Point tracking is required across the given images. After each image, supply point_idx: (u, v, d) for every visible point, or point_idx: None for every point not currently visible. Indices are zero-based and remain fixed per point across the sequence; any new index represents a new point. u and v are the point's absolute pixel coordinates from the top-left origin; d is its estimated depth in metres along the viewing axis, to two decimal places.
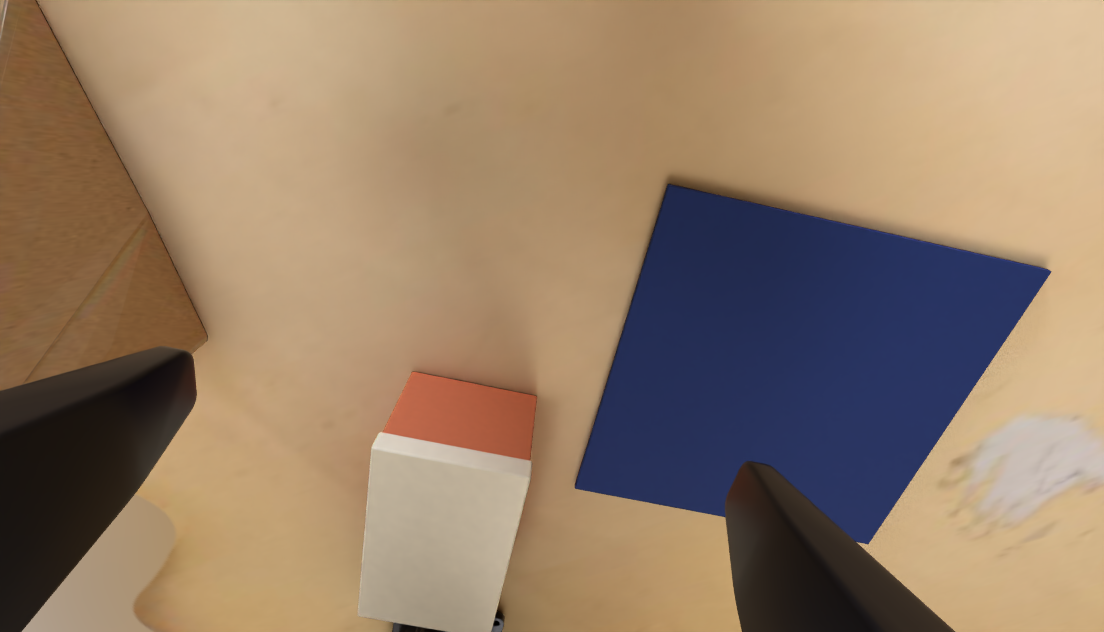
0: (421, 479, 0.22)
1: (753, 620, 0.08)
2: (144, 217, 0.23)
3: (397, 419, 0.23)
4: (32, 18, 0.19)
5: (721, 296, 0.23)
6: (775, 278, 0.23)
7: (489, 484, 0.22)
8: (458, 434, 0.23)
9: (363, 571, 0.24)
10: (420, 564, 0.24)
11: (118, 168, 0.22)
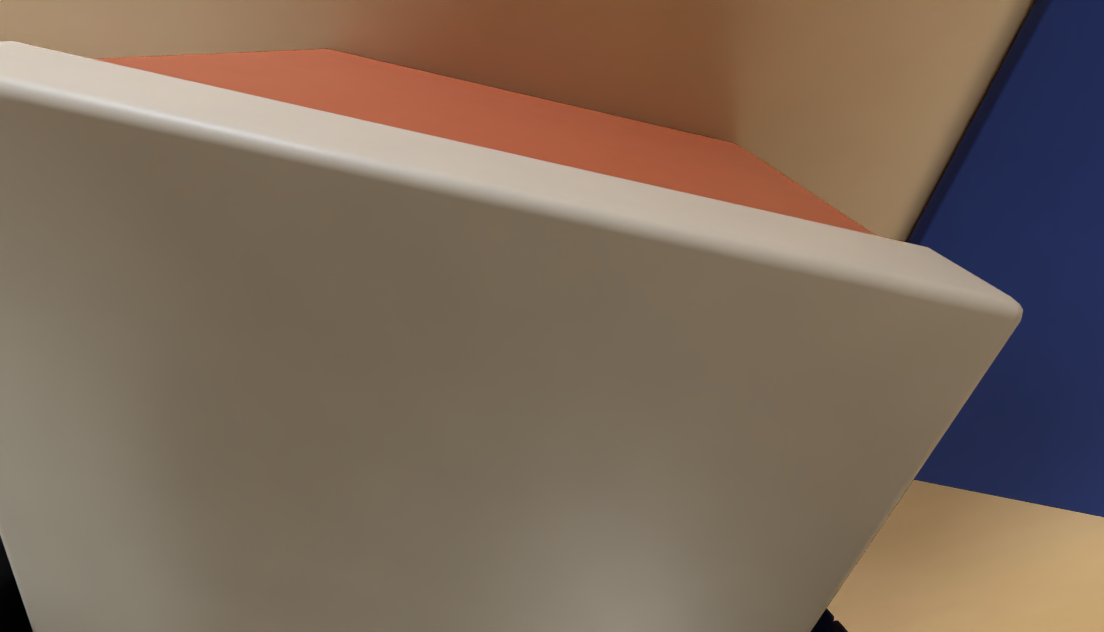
0: (266, 329, 0.03)
1: None
2: None
3: (185, 64, 0.04)
4: None
5: None
6: None
7: (723, 363, 0.03)
8: (498, 140, 0.04)
9: None
10: None
11: None
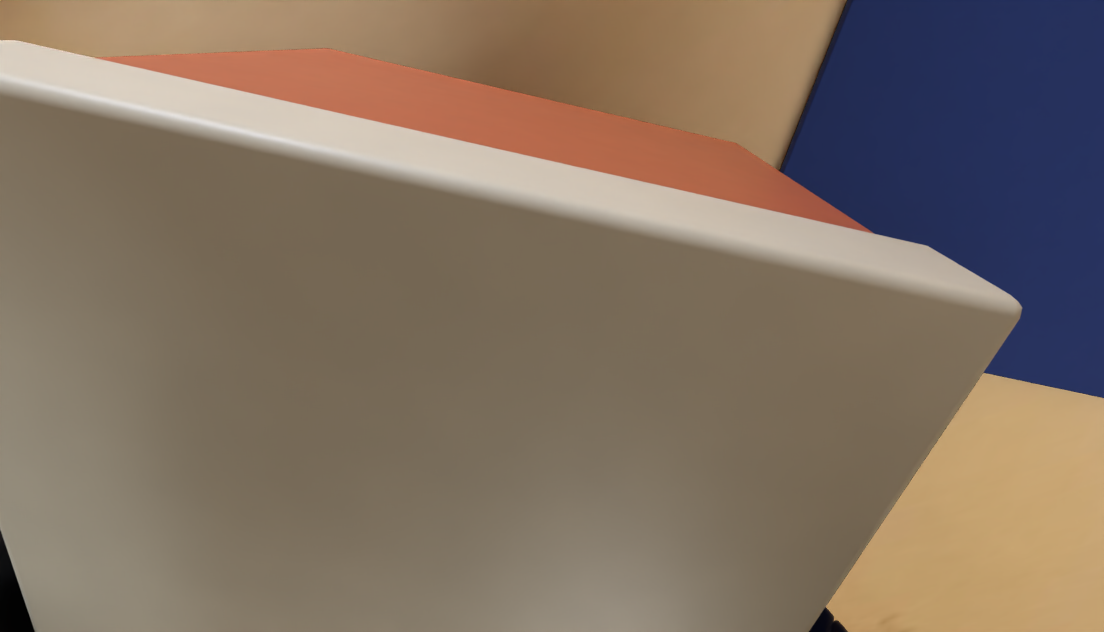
0: (267, 328, 0.03)
1: None
2: None
3: (186, 62, 0.04)
4: None
5: None
6: None
7: (723, 361, 0.03)
8: (498, 139, 0.04)
9: None
10: None
11: None
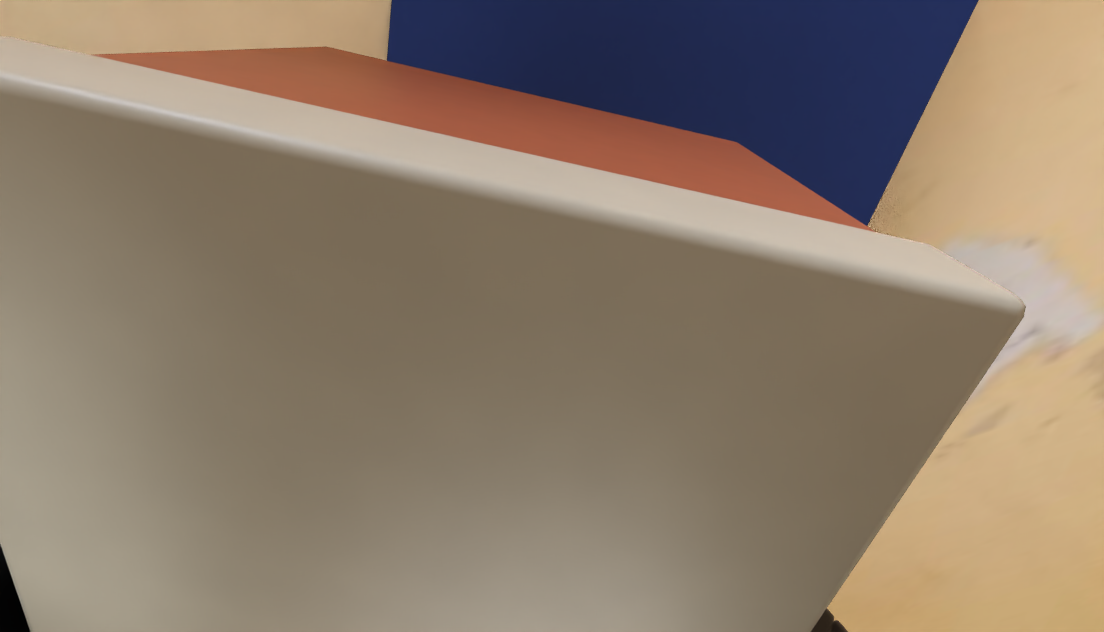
0: (263, 328, 0.03)
1: None
2: None
3: (183, 60, 0.04)
4: None
5: (512, 36, 0.16)
6: (584, 2, 0.16)
7: (723, 361, 0.03)
8: (497, 137, 0.04)
9: None
10: None
11: None
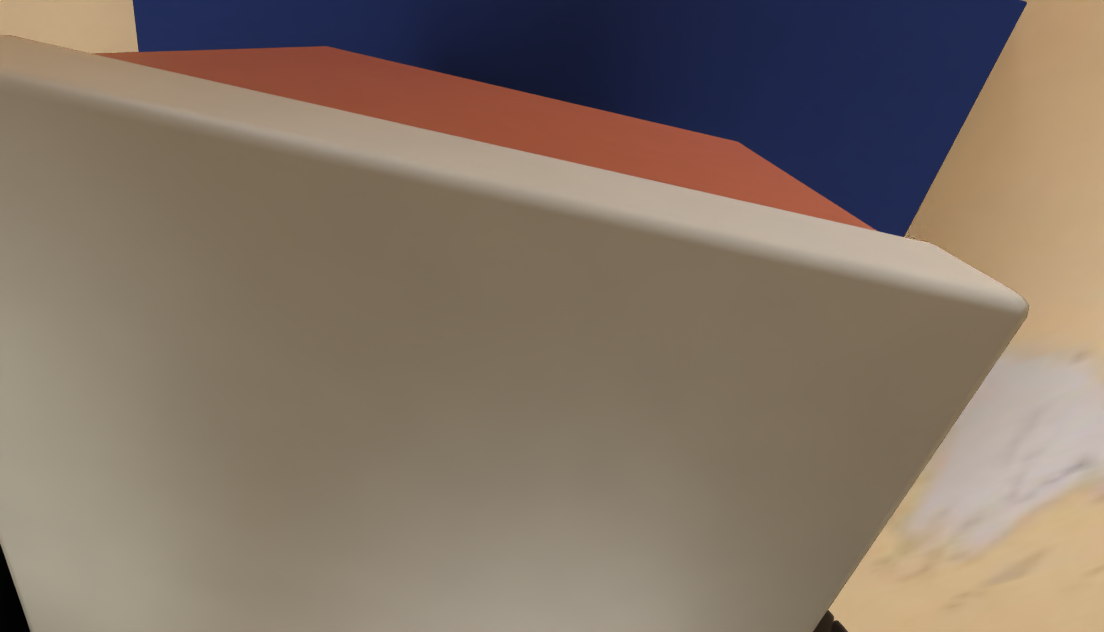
0: (265, 326, 0.03)
1: None
2: None
3: (183, 59, 0.04)
4: None
5: None
6: (420, 31, 0.10)
7: (726, 360, 0.03)
8: (499, 136, 0.04)
9: None
10: None
11: None
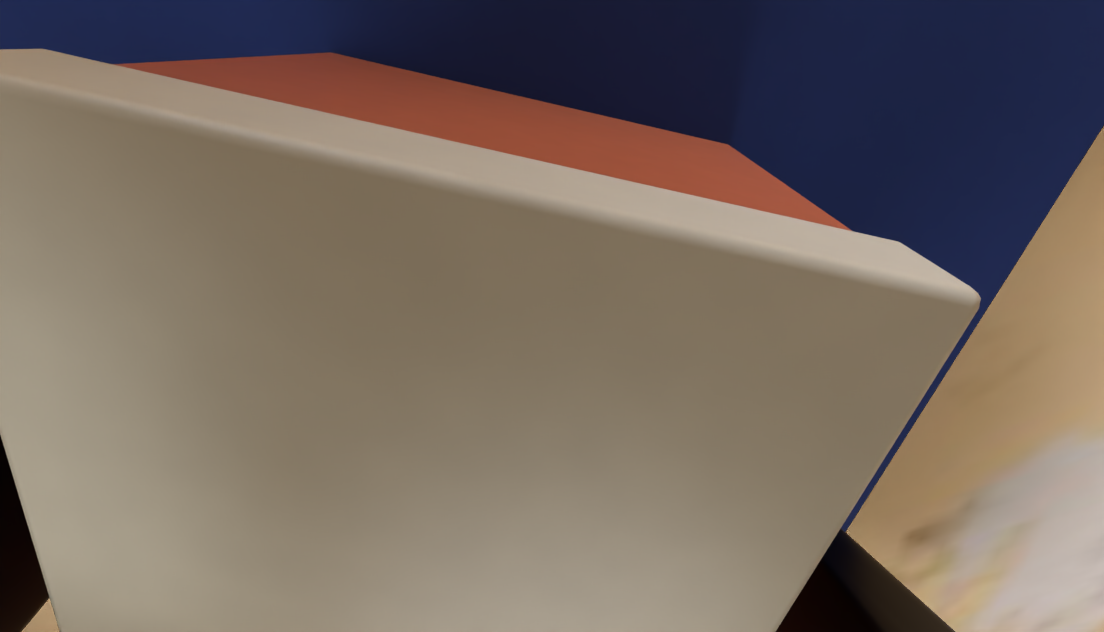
0: (279, 319, 0.03)
1: None
2: None
3: (198, 68, 0.05)
4: None
5: None
6: (362, 37, 0.08)
7: (704, 349, 0.03)
8: (495, 141, 0.05)
9: None
10: None
11: None
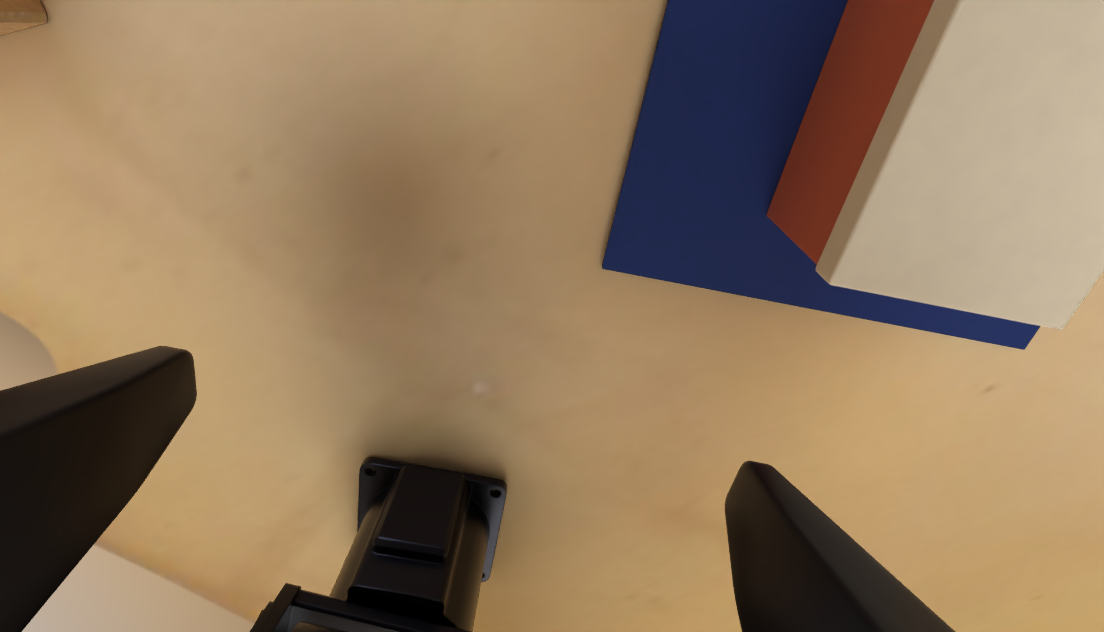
0: None
1: (753, 620, 0.08)
2: None
3: None
4: None
5: None
6: None
7: None
8: None
9: (893, 157, 0.12)
10: (1023, 128, 0.12)
11: None
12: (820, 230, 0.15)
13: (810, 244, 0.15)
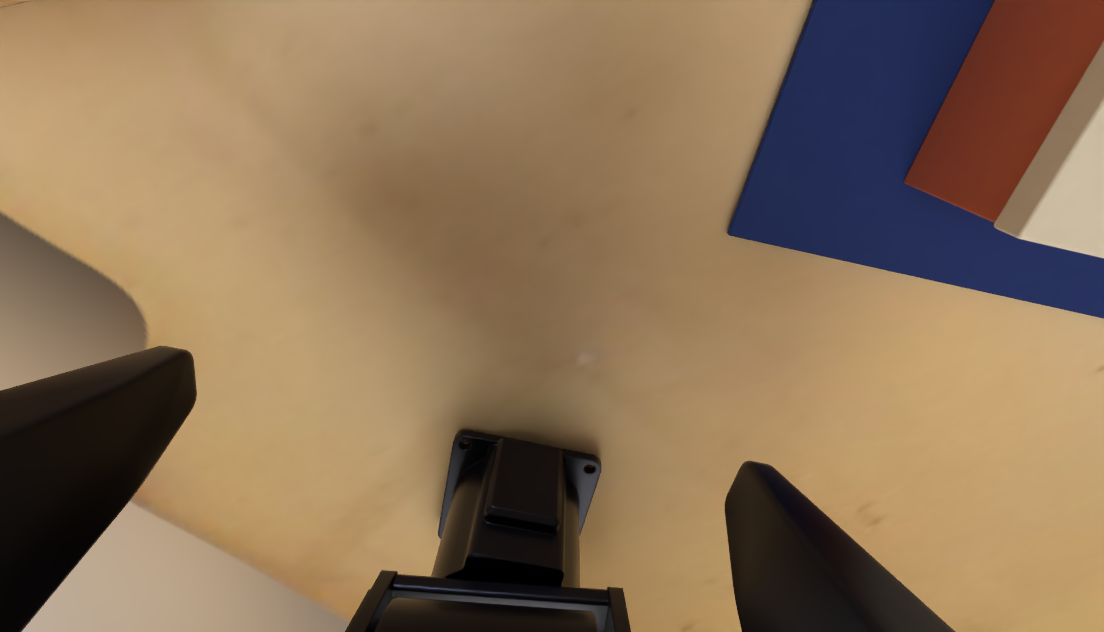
0: None
1: (753, 620, 0.08)
2: None
3: None
4: None
5: None
6: None
7: None
8: None
9: None
10: None
11: None
12: (996, 187, 0.14)
13: (980, 202, 0.15)
